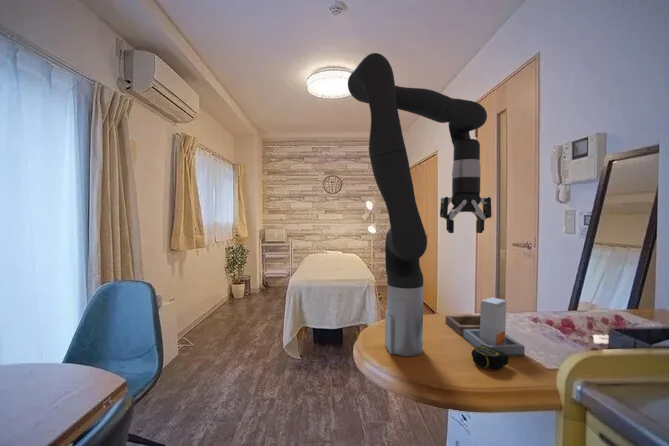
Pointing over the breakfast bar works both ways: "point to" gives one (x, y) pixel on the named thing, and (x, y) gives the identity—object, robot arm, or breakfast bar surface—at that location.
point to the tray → (508, 348)
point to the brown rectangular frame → (463, 322)
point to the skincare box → (493, 321)
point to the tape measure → (489, 357)
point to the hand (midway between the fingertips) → (465, 233)
